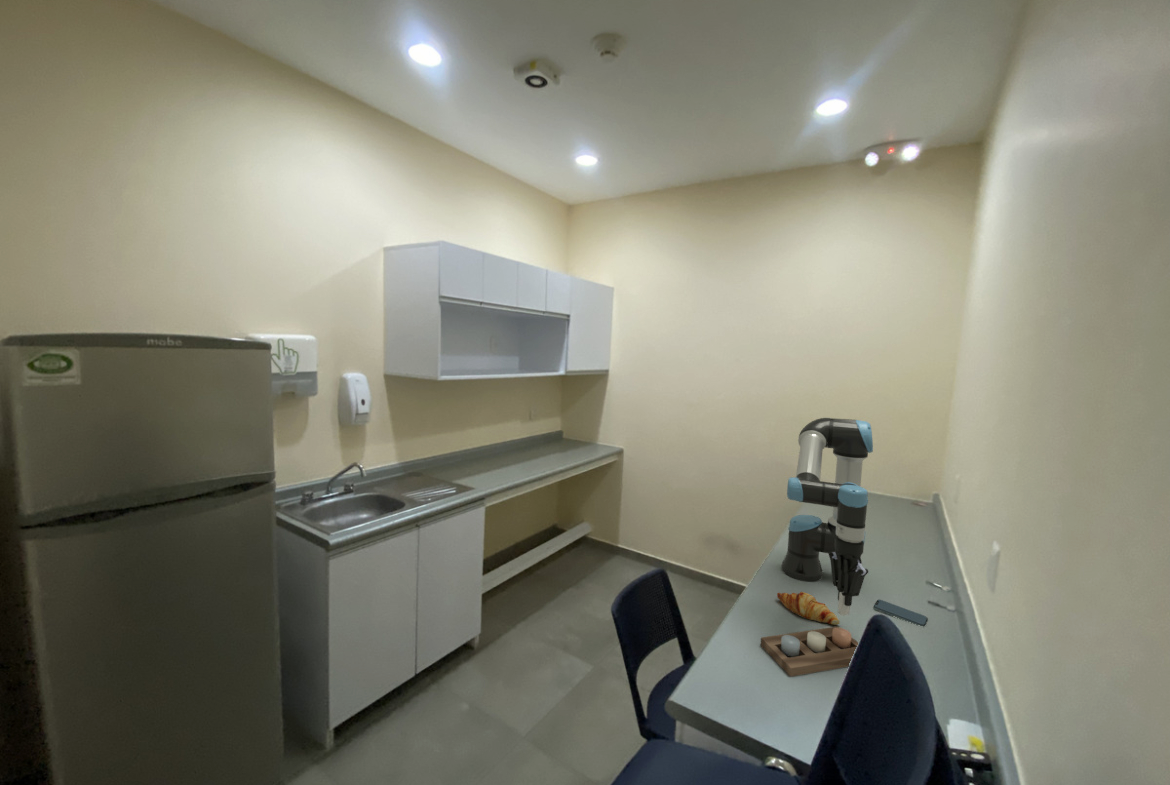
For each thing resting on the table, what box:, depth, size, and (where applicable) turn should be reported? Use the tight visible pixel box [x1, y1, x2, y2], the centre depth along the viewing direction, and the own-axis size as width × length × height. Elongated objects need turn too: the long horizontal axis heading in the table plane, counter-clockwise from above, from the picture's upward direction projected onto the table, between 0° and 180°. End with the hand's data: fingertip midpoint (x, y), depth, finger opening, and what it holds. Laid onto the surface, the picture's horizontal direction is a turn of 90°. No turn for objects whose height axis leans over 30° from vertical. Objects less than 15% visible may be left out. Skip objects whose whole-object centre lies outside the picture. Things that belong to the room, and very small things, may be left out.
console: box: [760, 625, 858, 678], centre depth 140 cm, size 14×28×2 cm, turn 104°
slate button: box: [781, 635, 800, 658], centre depth 138 cm, size 5×5×4 cm
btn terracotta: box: [832, 627, 852, 649], centre depth 142 cm, size 5×5×4 cm
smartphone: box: [872, 599, 929, 627], centre depth 162 cm, size 8×2×15 cm
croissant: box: [776, 591, 841, 626], centre depth 162 cm, size 21×10×8 cm, turn 43°
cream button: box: [807, 631, 826, 653], centre depth 140 cm, size 5×5×4 cm
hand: (843, 613), depth 141 cm, fingers closed
